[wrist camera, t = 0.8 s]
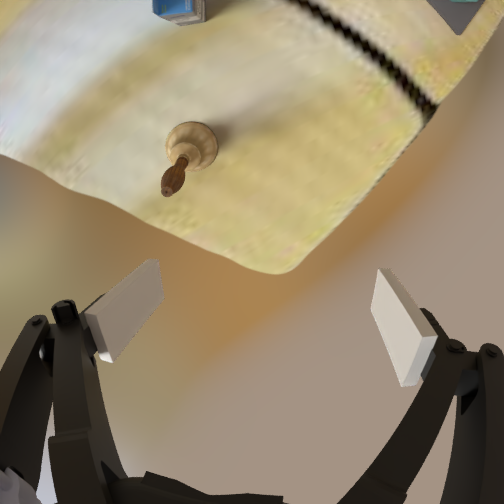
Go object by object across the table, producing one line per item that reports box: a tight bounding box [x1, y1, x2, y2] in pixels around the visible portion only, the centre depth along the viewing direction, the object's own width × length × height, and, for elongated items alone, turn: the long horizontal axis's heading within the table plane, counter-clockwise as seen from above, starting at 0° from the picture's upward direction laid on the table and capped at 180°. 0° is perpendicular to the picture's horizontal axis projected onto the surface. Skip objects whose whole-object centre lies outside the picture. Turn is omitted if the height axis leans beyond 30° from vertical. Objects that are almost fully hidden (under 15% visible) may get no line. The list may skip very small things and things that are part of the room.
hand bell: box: [161, 122, 218, 197], centre depth 33 cm, size 8×8×16 cm
